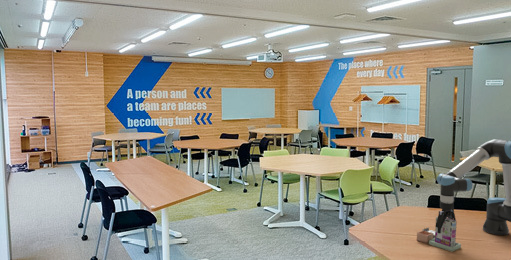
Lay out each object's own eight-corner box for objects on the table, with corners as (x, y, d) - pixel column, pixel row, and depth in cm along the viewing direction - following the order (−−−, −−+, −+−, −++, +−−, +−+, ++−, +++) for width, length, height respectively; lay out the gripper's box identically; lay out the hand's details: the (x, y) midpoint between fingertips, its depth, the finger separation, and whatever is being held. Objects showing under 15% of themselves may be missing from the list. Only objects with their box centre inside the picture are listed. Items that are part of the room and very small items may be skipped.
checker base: (427, 233, 262) (427, 226, 261) (451, 240, 249) (451, 233, 249) (422, 235, 258) (422, 228, 257) (446, 242, 245) (446, 235, 245)
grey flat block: (430, 231, 260) (430, 229, 260) (447, 236, 250) (447, 235, 250) (425, 233, 256) (425, 231, 256) (443, 238, 247) (443, 237, 247)
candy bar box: (455, 247, 236) (457, 220, 235) (450, 248, 234) (451, 221, 232) (439, 240, 246) (441, 215, 245) (434, 242, 244) (435, 216, 242)
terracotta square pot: (422, 237, 254) (422, 230, 253) (433, 241, 248) (433, 233, 248) (416, 240, 249) (417, 232, 249) (427, 243, 244) (427, 235, 243)
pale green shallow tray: (437, 240, 249) (437, 236, 249) (460, 247, 237) (460, 243, 237) (428, 244, 243) (429, 240, 242) (452, 251, 231) (452, 247, 231)
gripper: (450, 197, 248) (449, 229, 250) (430, 203, 233) (428, 238, 235) (463, 199, 242) (461, 232, 244) (442, 206, 227) (440, 242, 229)
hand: (445, 235), depth 239 cm, fingers open, 13 cm apart
